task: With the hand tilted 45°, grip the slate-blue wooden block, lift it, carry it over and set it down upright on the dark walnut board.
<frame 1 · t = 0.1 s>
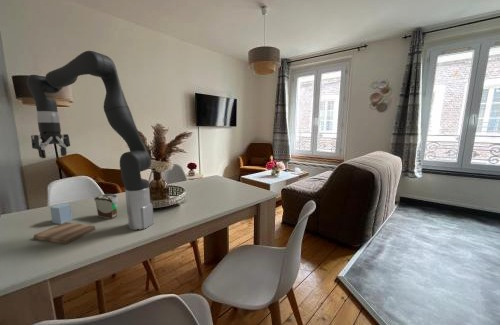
hand: (53, 156, 103), 29 cm above the table, tool pointing down, fingers open, 8 cm apart
food container: (111, 215, 108), on the table
slate block: (62, 221, 102), on the table
walnut board: (66, 233, 90), on the table
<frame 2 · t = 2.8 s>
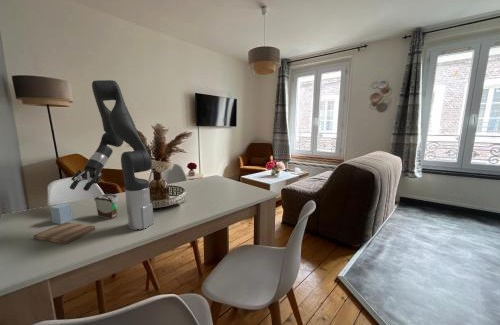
hand: (78, 189, 108), 13 cm above the table, tool tilted 45°, fingers open, 8 cm apart
nothing on the table moved.
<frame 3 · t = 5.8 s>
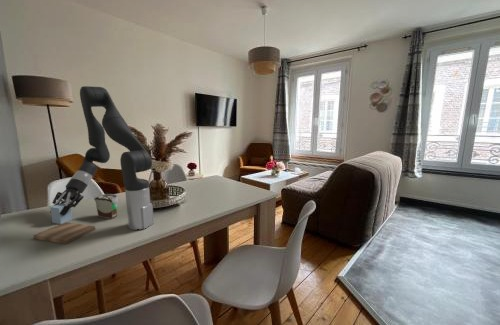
hand: (57, 214, 99), 4 cm above the table, tool tilted 45°, fingers closed on slate block, 5 cm apart
slate block: (62, 221, 102), on the table, touching gripper
everything else where it was.
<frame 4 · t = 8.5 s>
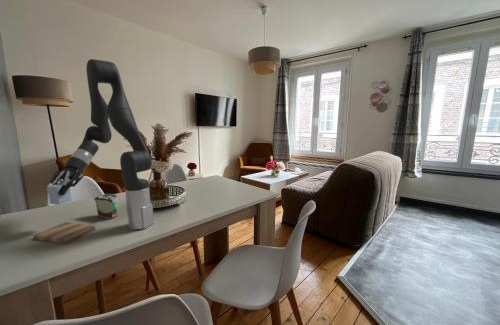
hand: (55, 193, 91), 16 cm above the table, tool tilted 45°, fingers closed on slate block, 5 cm apart
slate block: (61, 202, 93), point 11 cm above the table, touching gripper
everything else where it was.
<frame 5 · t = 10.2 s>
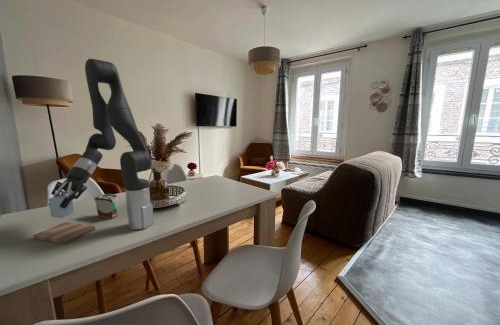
hand: (56, 206, 86), 12 cm above the table, tool tilted 45°, fingers closed on slate block, 5 cm apart
slate block: (62, 214, 88), point 8 cm above the table, touching gripper
everything else where it was.
when the fingers open (7 cm above the table, at t = 11.8 s): slate block drops 1 cm, resting on walnut board.
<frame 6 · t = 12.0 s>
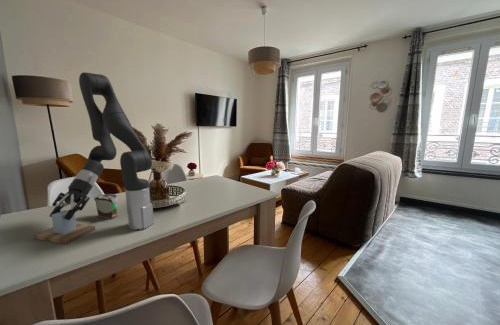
hand: (59, 218, 87), 7 cm above the table, tool tilted 45°, fingers open, 7 cm apart
slate block: (65, 230, 90), point 1 cm above the table, touching walnut board
everything else where it was.
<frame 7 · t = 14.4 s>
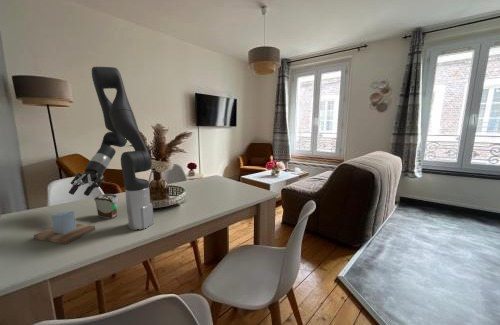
hand: (78, 194, 97), 14 cm above the table, tool tilted 45°, fingers open, 8 cm apart
nothing on the table moved.
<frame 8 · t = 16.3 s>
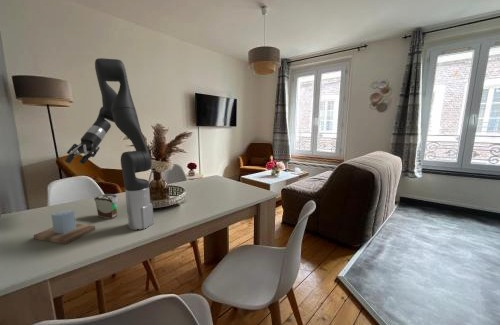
hand: (74, 162, 102), 27 cm above the table, tool tilted 45°, fingers open, 8 cm apart
nothing on the table moved.
at the end: slate block inside the target area on the walnut board (0.0 cm from its centre), point 1.5 cm above the walnut board's base; slate block tilted 0°; the gripper is holding nothing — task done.
